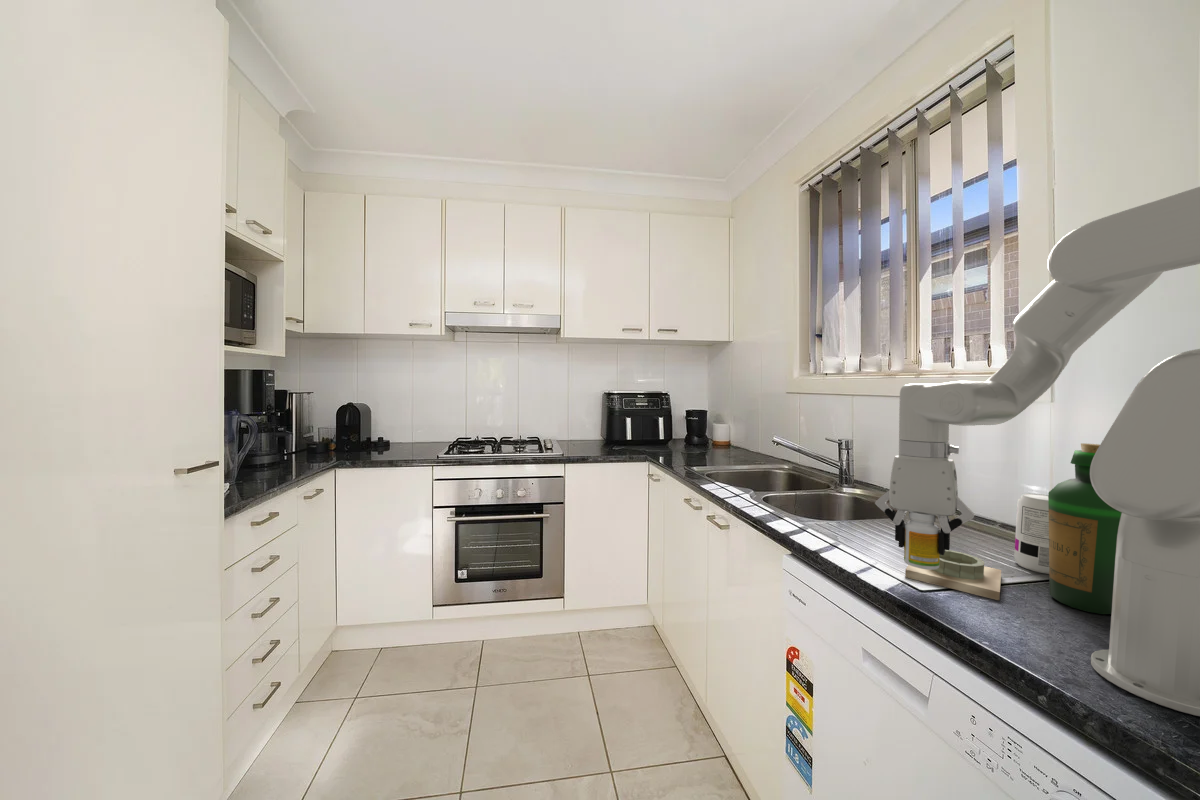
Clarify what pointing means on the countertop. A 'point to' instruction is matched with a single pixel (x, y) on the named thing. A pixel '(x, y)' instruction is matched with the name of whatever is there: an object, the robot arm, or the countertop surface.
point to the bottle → (1082, 540)
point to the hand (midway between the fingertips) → (921, 548)
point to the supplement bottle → (921, 541)
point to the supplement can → (1032, 532)
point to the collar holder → (961, 575)
